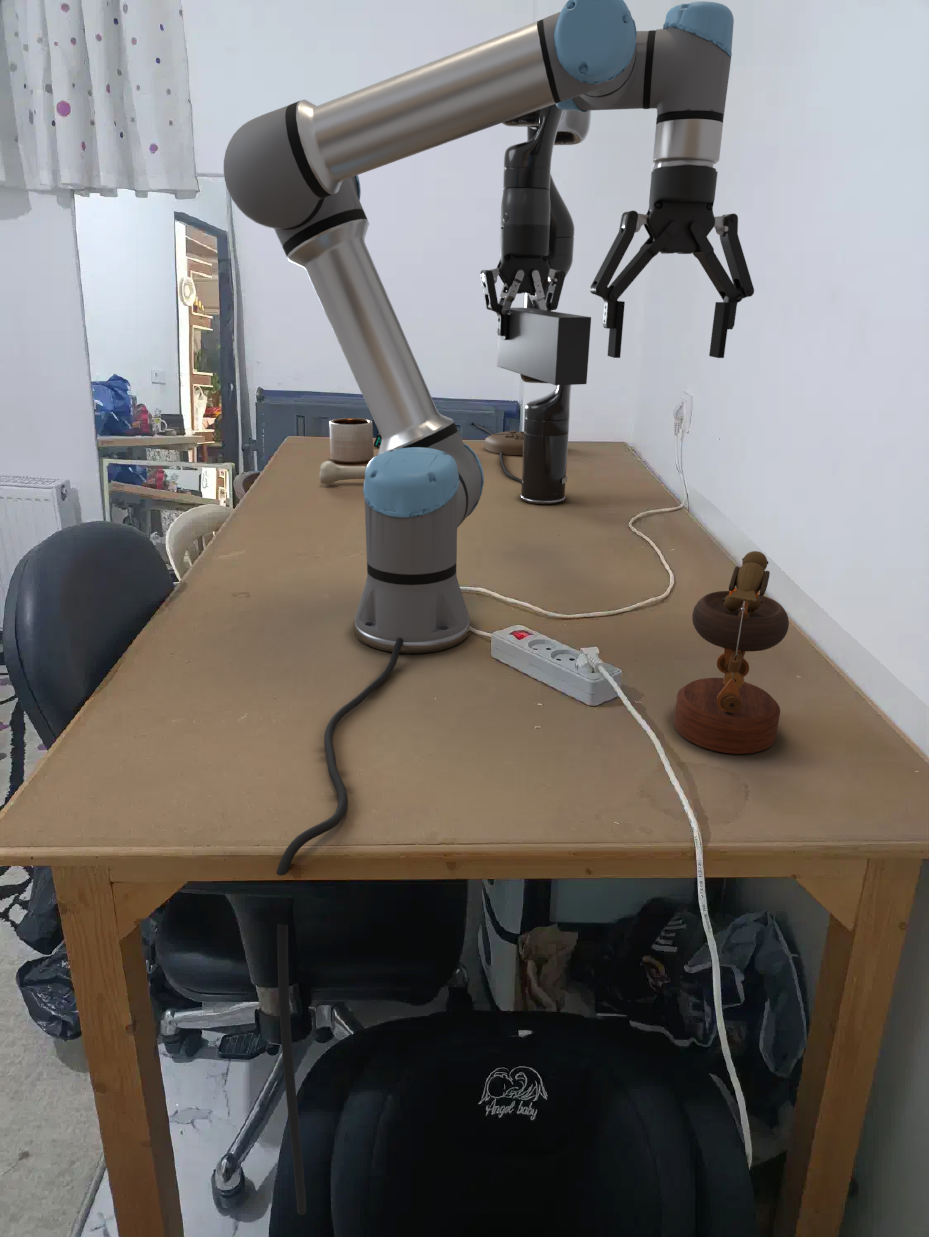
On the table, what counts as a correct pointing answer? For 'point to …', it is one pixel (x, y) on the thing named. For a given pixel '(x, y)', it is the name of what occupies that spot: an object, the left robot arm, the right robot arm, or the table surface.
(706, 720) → the music box
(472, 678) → the table surface
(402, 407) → the left robot arm
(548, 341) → the bar
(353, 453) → the planter
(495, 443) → the brown flat rounded piece
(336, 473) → the dog toy
